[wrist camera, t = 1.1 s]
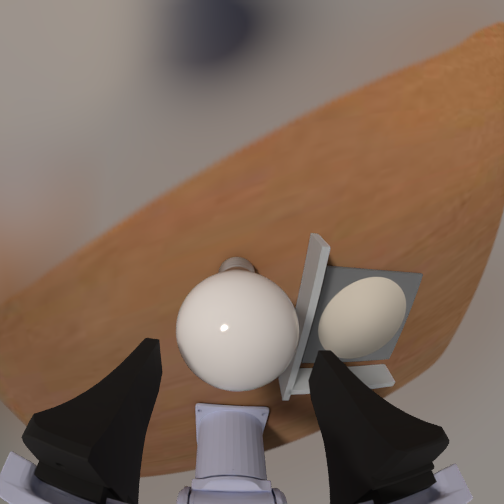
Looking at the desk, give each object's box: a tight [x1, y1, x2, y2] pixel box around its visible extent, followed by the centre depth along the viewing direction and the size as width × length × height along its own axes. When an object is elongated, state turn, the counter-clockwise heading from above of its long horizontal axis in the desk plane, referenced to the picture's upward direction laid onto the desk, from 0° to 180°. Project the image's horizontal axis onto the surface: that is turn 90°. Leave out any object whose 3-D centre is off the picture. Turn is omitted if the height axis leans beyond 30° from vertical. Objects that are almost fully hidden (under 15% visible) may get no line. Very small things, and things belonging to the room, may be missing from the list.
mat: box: [301, 266, 423, 363], centre depth 24 cm, size 10×10×1 cm
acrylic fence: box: [278, 233, 395, 400], centre depth 23 cm, size 15×12×3 cm
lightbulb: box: [176, 257, 299, 391], centre depth 16 cm, size 6×6×11 cm
